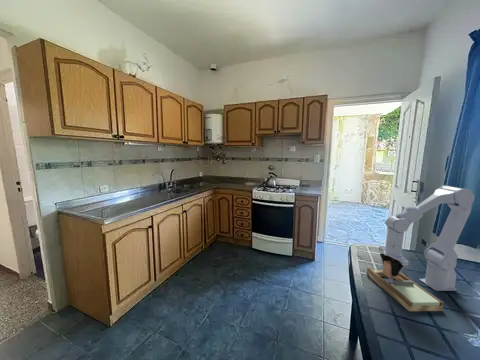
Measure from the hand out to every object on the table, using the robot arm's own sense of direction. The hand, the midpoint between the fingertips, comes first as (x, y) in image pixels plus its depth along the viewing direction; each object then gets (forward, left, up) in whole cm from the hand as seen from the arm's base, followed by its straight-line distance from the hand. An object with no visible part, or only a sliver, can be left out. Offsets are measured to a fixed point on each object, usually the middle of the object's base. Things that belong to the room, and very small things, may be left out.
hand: (390, 272), depth 94 cm
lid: (0, +12, -2) cm, 12 cm away
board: (0, +6, -4) cm, 7 cm away
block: (0, 0, -1) cm, 1 cm away
